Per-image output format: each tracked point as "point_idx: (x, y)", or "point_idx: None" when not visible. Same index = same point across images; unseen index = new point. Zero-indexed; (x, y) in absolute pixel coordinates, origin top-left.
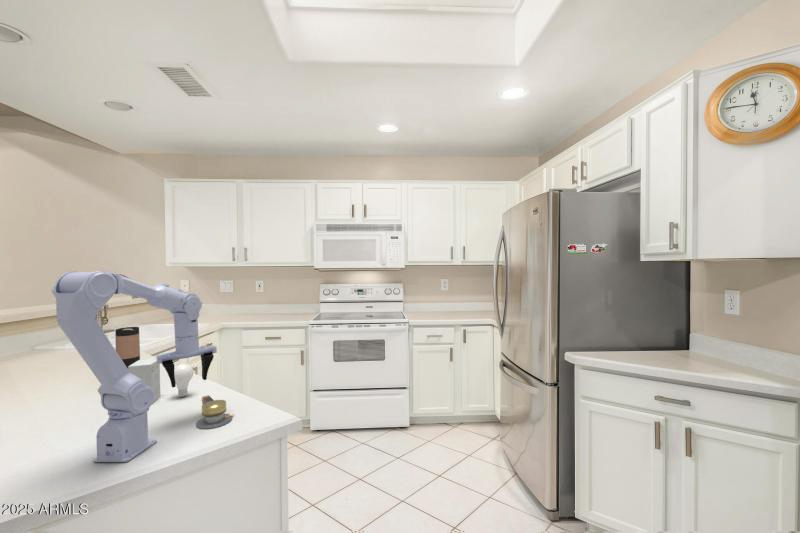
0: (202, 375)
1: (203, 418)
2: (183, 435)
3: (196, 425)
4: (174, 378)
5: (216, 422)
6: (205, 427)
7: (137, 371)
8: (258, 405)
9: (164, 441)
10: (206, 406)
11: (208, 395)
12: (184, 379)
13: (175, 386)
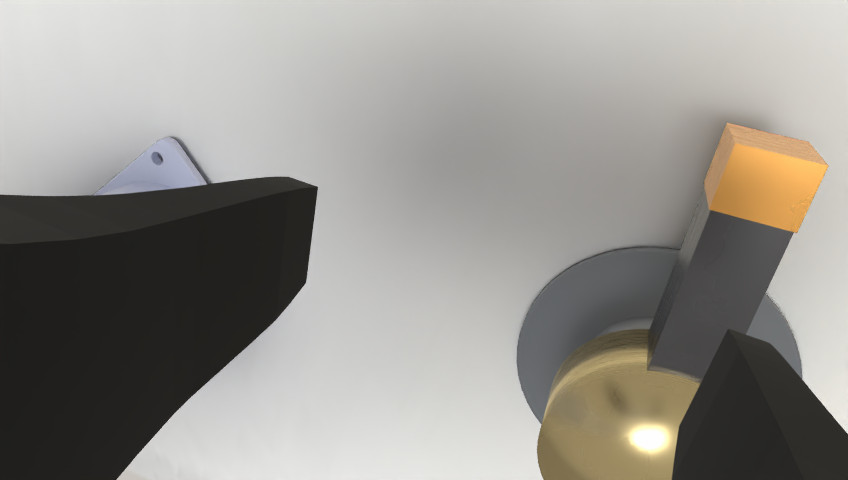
0: (717, 393)
1: (624, 266)
2: (415, 359)
3: (520, 334)
4: (210, 373)
5: None
6: (539, 416)
7: None
8: None
9: (319, 330)
10: (570, 451)
11: (818, 168)
12: None
13: (302, 285)
